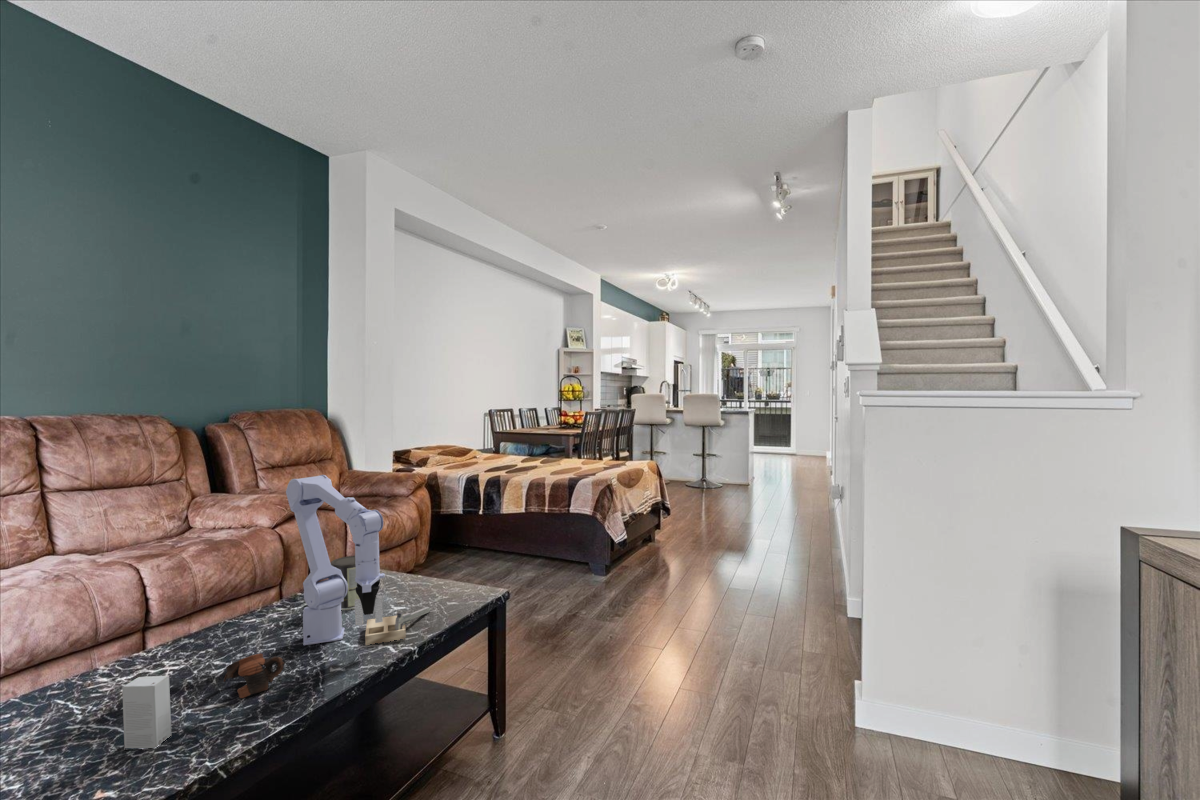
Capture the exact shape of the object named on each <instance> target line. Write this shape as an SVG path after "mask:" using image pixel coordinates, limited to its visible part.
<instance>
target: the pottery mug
mask: <svg viewBox="0 0 1200 800" xmlns="http://www.w3.org/2000/svg"><path fill="white" fill-rule="evenodd" d="M274 664H276V668H275V670H273V666H274ZM263 666H264V668H263ZM284 666H285V662H284V660H283V658H282V657H280V656H273V657H270V658H268V659H265V658H264V653H256V654H252V655H249V656H246V657H244V658H242V659H239V660H237V661H236V660H235V661H234V662H232V663H230V664H229V665H227V666H226V667H225V669H226V673H225V675H224V678H223V682H226V680H227V679H235V678H238V677H242V678H244V680H245V681H244V682H245V683H246V684H245V685H243V686H241V687H239V688H238V689H237V693H238V697H239V699H240V698H242V699H244V698H247V697H248V696H251V695H253V694H259V693H261V692H264V691H267V690H268V689H269V683H273V681H274V680H275V678H276V677H278V676H279V675H280V674H281V673H282V672H283V669H284V668H285V667H284Z"/></svg>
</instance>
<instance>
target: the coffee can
mask: <svg viewBox="0 0 1200 800" xmlns="http://www.w3.org/2000/svg"><path fill="white" fill-rule="evenodd" d="M330 563H331V566H333V567H336V568H338V569H340V570H341V572H342V575H343V577H344V578H345V580H346V581H347V584H348V592H347V595H346V596H345V597H344V601H343V602H341V610H342V611H350V610H351V609H352V610H355V599H360V598H359V596H358V595H357V593H356V587H357V582H356V581H355V577H356V564H355V555H348V556H342V557H338V558H335V559H333V560H332V561H330ZM352 610H351V611H352Z"/></svg>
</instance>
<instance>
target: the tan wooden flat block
mask: <svg viewBox="0 0 1200 800" xmlns="http://www.w3.org/2000/svg"><path fill="white" fill-rule="evenodd" d="M404 614H405V613H403V615H404ZM396 618H397V614H396V615H393V616H392V615H391V616H383V622H379V623H375V618H369V619H368V618H367V619H366V627H365V633H364V634H365V636H364V637H365V646H370V644H372V645H376V644H375V643H378V644H383V643H382V642H384V643H390V641H391V642H395V641H394V640H397V641H401V640H400V639H403V640H405V639H404V638H406V639H407V637H406V635H407V633H406V632H407V631H406V624H405V625H404V626H402V629H400V630H395V622H396Z"/></svg>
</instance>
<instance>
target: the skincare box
mask: <svg viewBox="0 0 1200 800" xmlns="http://www.w3.org/2000/svg"><path fill="white" fill-rule="evenodd" d="M121 692H122V694H121V695H122V718H123V742H124V743H123V746H124V747H123V748H124V749H125V748H153V747H157V746H158V745H160V744H161V743H162V742H163V741H165V740H166V739H167V738H169V737H170V736H171V737H172V715H171V714H172V713H171V694H170V693H171V692H170V676H169V675H154V676H153V675H151V676H150V675H149V676H139V677H137V678H135V679H133V680H132V681H130V682H128V683H126V684H125V685H124V686H122V687H121ZM171 737H170V738H171ZM170 738H169V739H170ZM166 741H167V740H166ZM166 741H165V742H166ZM160 746H161V745H160Z"/></svg>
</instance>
